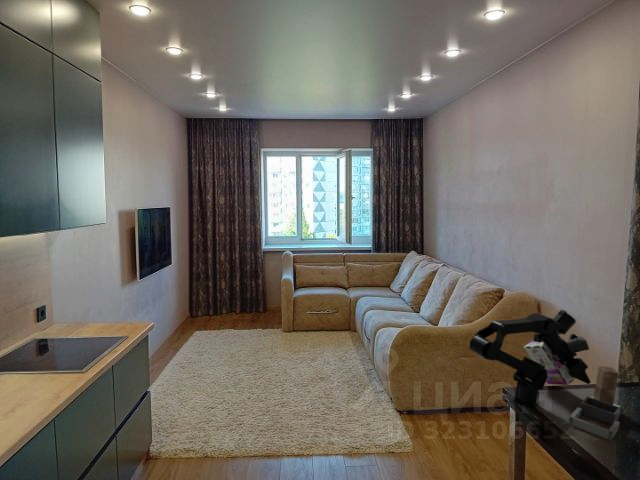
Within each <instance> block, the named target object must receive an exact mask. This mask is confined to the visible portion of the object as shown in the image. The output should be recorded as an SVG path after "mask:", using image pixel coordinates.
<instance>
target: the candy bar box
mask: <svg viewBox="0 0 640 480" xmlns="http://www.w3.org/2000/svg"><path fill="white" fill-rule="evenodd" d="M523 349H524V351H525V352H526V354H527V355H528V356H529V357H528V358H529V359H531V360H533V361H535V362H537V363H539V364H541V365H543V366H545V369H546V370H547V380H546V382H545V383H546V384H549V385H563V386H568V385H570V384H571V383H572V382H573V381H574V380H575V379H576V378H574V377H571V376H570V375H569V374H568V372H567V371H566V370H565V365H563V364H561V363H560V362H559V361H558V360H557V359H556V358H555V357H554V356H553V354H552V353H551V351H550V350H549V349H548V348H547V347H546V346H545V344H544V343H543V342H534V341H533V340H531V341H529V342H528V343H526V344H525V345H524V346H523Z"/></svg>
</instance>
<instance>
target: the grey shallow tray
mask: <svg viewBox="0 0 640 480" xmlns="http://www.w3.org/2000/svg"><path fill="white" fill-rule="evenodd" d="M581 412H582V408H580V407H578V406H577V408H576V409H575V410H574V411H573V412H572V413H571V414H570V415H569V416H568V417H569V418H568V422H567V424H568V425H570V426H572V427H575V428H578V429H580V430H583V431H584V432H585V431H586V432H588V433H591V434H594V435H596V436H599V437H601V438H603V439H607V440H609V441H612V440H613V438H614V436H615V435H616V434H617V432H618V431H619V429H620V428H619V427H620V421H619V420H618V421H615V422H614V423H613V425H612V426H611V425H610V427H609V429H607V428H605V427H603V426H599V425H597V424H594V423H591V422H588V421H586V420H583V419H581V418H580V417H581V416H582V415H581Z"/></svg>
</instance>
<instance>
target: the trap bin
mask: <svg viewBox="0 0 640 480" xmlns="http://www.w3.org/2000/svg"><path fill="white" fill-rule="evenodd" d="M579 408H582V412H581V416H584V417H587V418H589V419H593V420H595V421H598V422H601V423H604V424H606V425H608V426H610V427H611V426H612V425H613V423H614V422H615V421H618V422H619V419H620V415H621V414H620V413H621V406H620V407H617V406H614V405H611V404H608V403H605V402H602V401H599V400H596V399H594V398H591V396H586V397H585V398H584V399H583V400H582V401H581V402H580V407H579Z"/></svg>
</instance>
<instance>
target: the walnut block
mask: <svg viewBox="0 0 640 480" xmlns="http://www.w3.org/2000/svg"><path fill="white" fill-rule="evenodd" d="M618 377H619V372H618V371H617V370H616V369H615V368H614V367H610V366H601V365H598V368H597V374H596V380H595V386H594V393H593V397H594V399H596V400H599V401H602V402H605V403H608V404H611V405H613V404H615V402H614V401H615V396H616V390H617V384H618Z"/></svg>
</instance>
